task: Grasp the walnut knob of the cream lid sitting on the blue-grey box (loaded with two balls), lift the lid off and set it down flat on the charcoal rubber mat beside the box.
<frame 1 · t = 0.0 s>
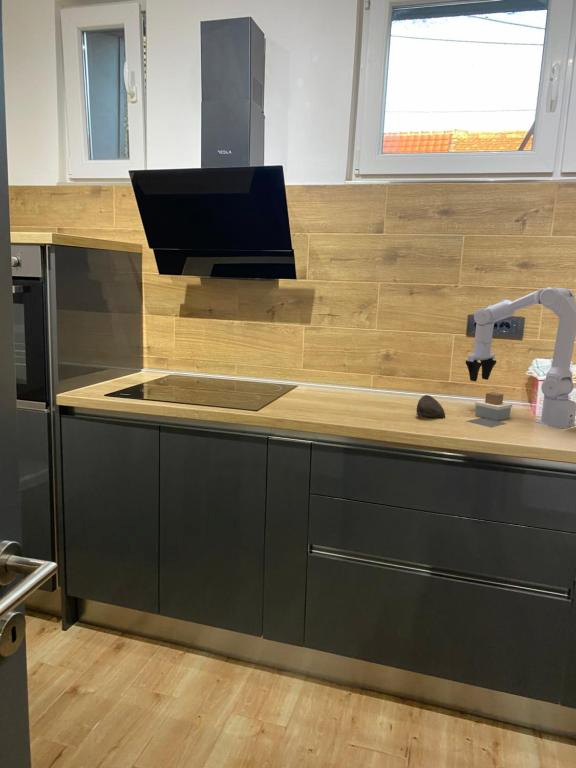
hand: (479, 380, 204), 10 cm above the countertop, fingers open, 7 cm apart
ball grey: (498, 417, 190), resting on box
stone: (429, 417, 188), on the countertop
mat: (486, 423, 182), on the countertop
lid: (493, 406, 190), point 4 cm above the countertop, touching box
box: (492, 417, 191), on the countertop
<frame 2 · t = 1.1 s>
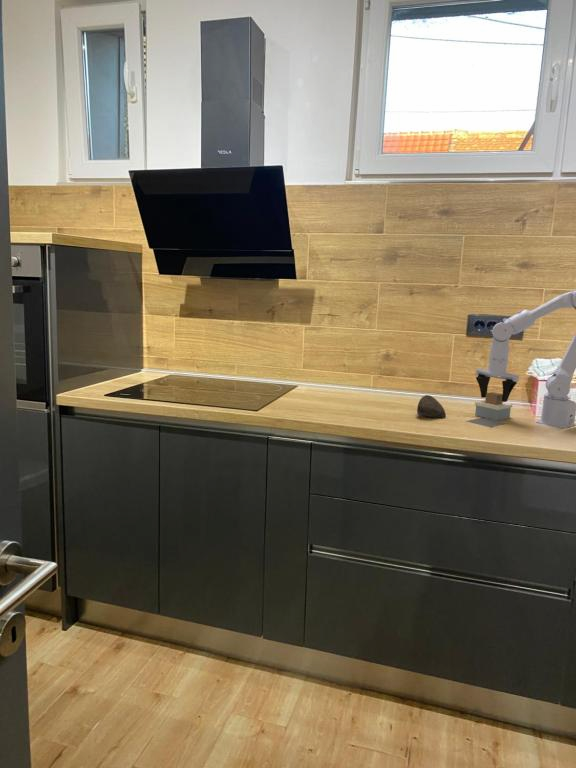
hand: (493, 399, 190), 6 cm above the countertop, fingers open, 7 cm apart
nothing on the countertop moved.
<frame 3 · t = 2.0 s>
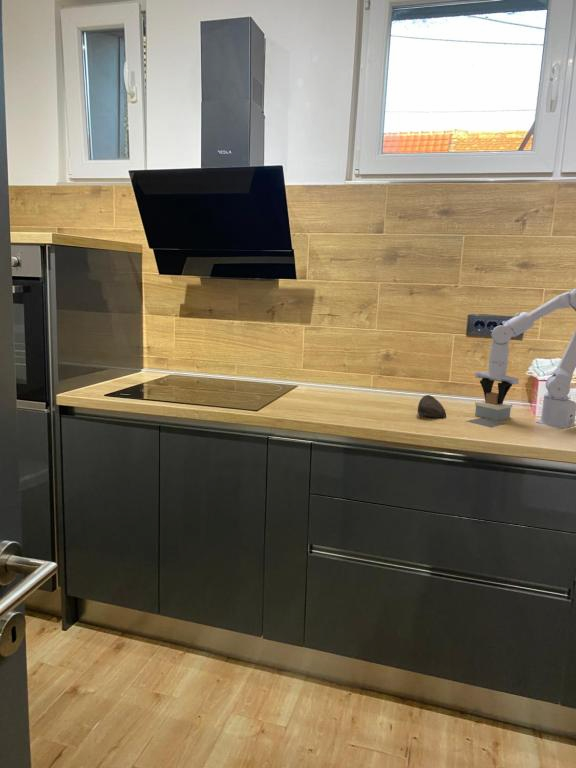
hand: (493, 402, 190), 5 cm above the countertop, fingers closed on lid, 4 cm apart
lid: (493, 406, 190), point 4 cm above the countertop, touching box, gripper
everything else where it was.
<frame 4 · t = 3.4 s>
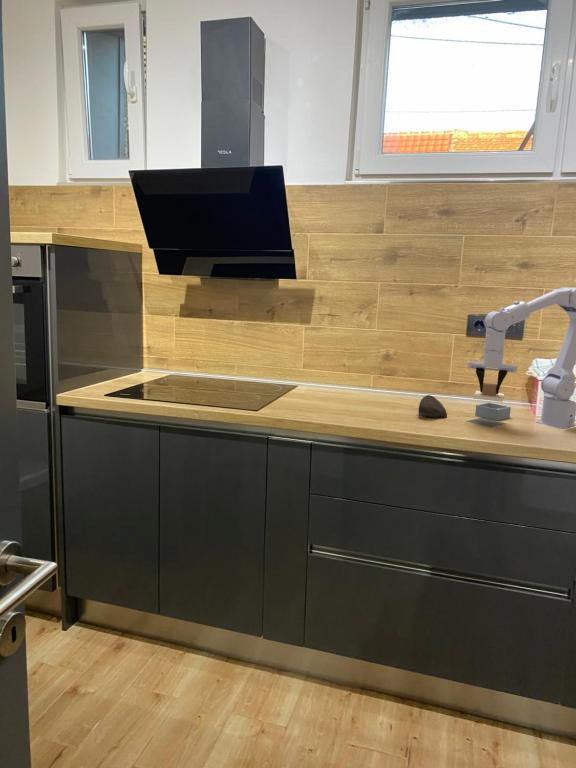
hand: (489, 392, 180), 10 cm above the countertop, fingers closed on lid, 4 cm apart
lid: (488, 397, 181), point 8 cm above the countertop, touching gripper
everything else where it was.
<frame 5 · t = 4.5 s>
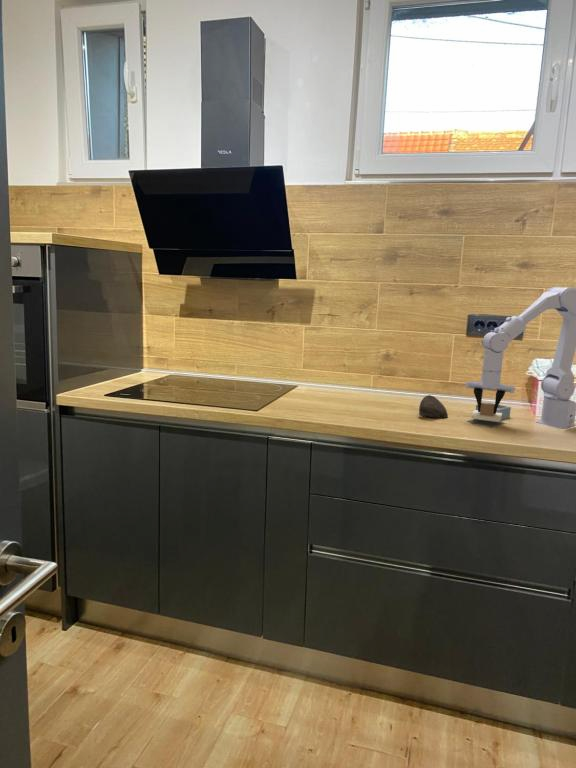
hand: (487, 412, 182), 4 cm above the countertop, fingers closed on lid, 4 cm apart
lid: (486, 417, 182), point 2 cm above the countertop, touching gripper
everything else where it was.
when the fingers open (3 cm above the countertop, at t = 5.0 s): lid drops 1 cm, resting on mat.
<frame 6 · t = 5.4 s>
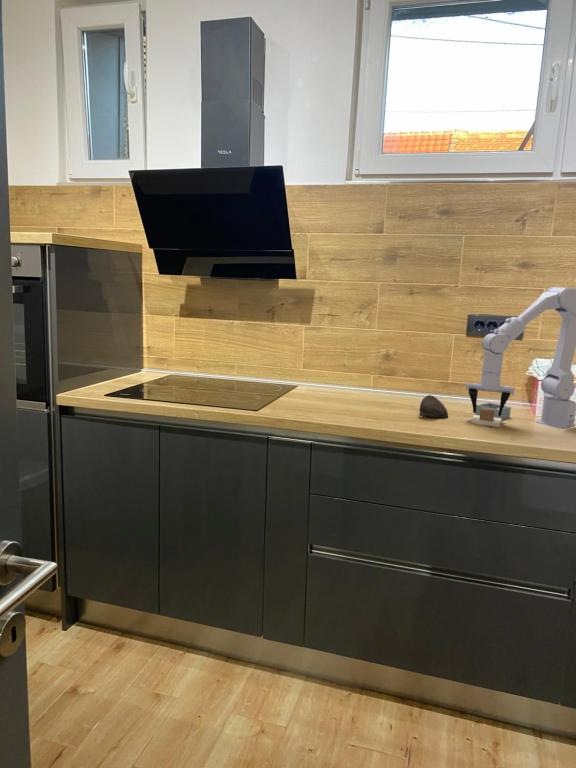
hand: (487, 413, 182), 3 cm above the countertop, fingers open, 7 cm apart
lid: (486, 422, 182), resting on mat
everything else where it was.
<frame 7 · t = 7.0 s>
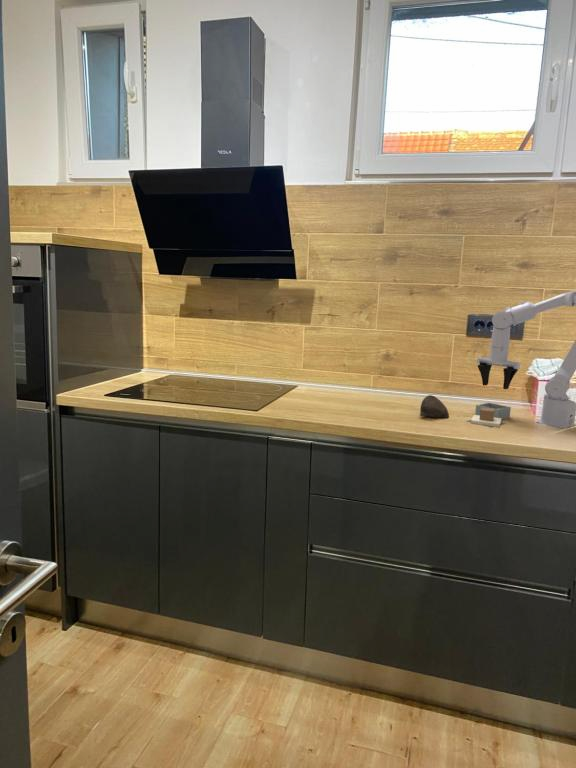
hand: (495, 387, 192), 10 cm above the countertop, fingers open, 7 cm apart
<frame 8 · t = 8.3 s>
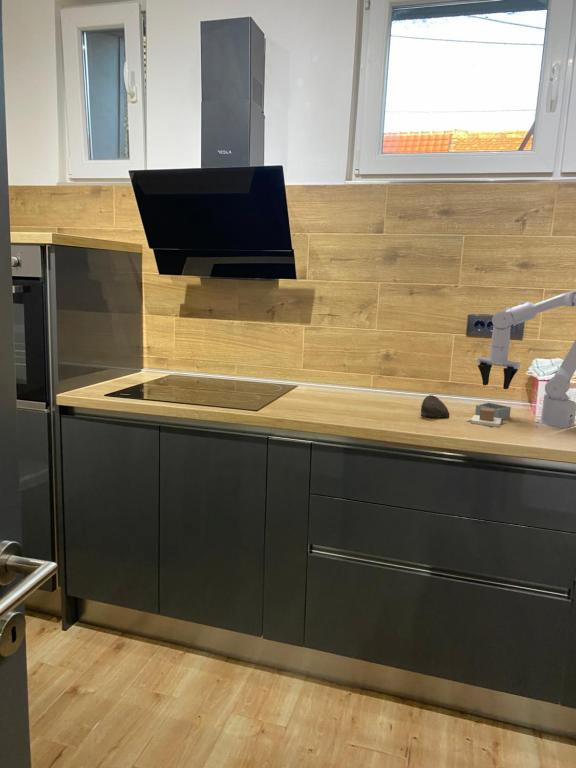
hand: (495, 386, 193), 10 cm above the countertop, fingers open, 7 cm apart
at the end: lid inside the target area on the mat (0.2 cm from its centre), point 0.4 cm above the mat's base; lid tilted 0°; the gripper is holding nothing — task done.
